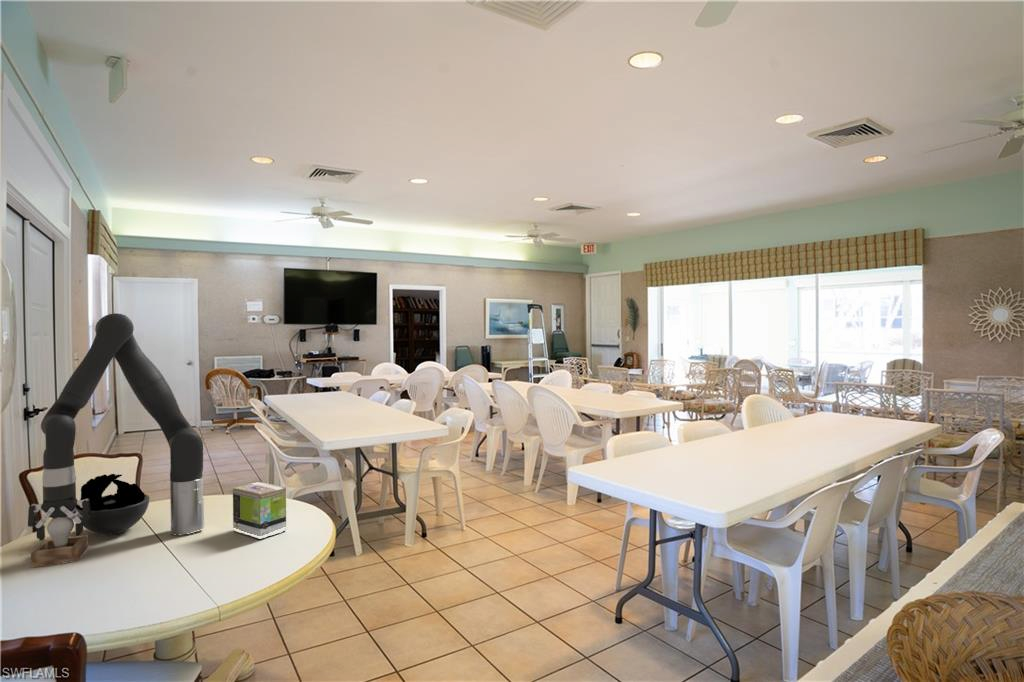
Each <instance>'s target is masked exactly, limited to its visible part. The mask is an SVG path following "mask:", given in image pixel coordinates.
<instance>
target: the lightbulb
mask: <svg viewBox="0 0 1024 682" xmlns="http://www.w3.org/2000/svg"><path fill="white" fill-rule="evenodd" d="M74 526H75V521H74V520H73V519H71V518H70V517H69V516H66V517H57V518H51V520H50V521H49V522H48V524H47V527H46V531H47V533H48V534H49V536H50V537H51V539H53V542H54V546H55V548H62V547H67V543H68V537H70V535H71V533H72V531H73V529H74V528H75V527H74Z"/></svg>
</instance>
